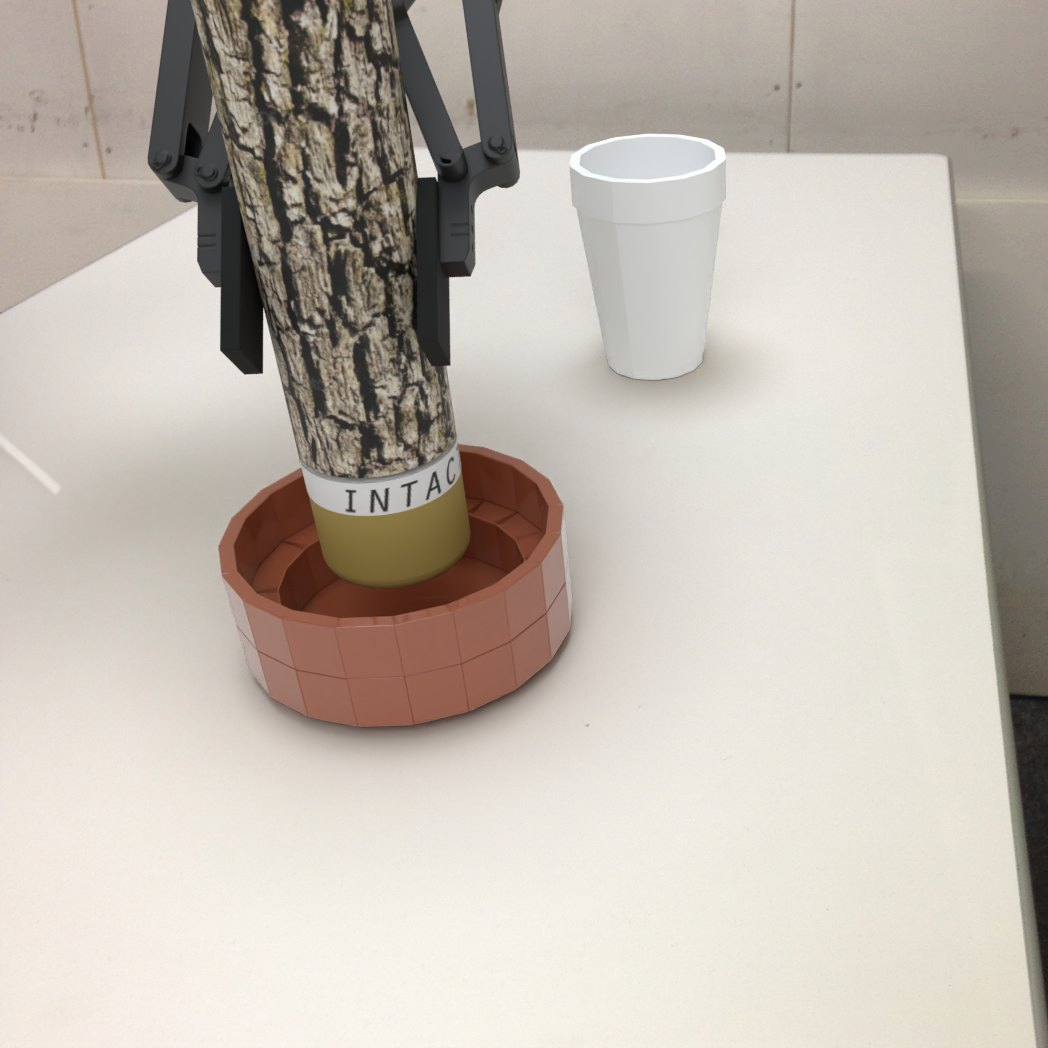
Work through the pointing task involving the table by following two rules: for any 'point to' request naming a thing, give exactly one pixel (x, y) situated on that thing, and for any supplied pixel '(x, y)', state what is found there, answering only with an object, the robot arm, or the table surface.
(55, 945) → the table surface
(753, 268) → the table surface
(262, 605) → the bowl
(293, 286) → the paper tube
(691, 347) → the foam cup
